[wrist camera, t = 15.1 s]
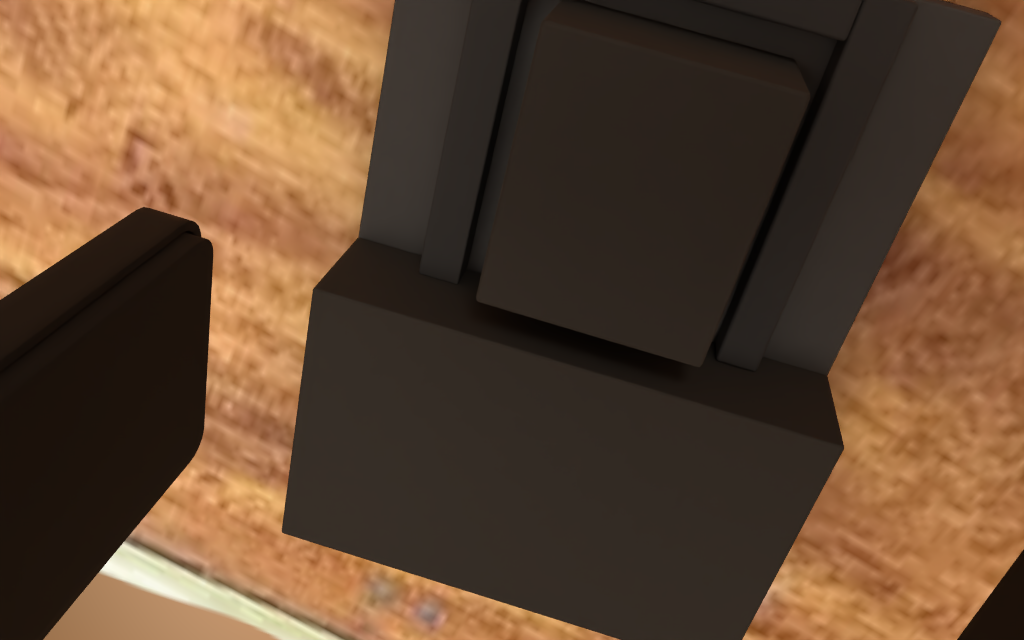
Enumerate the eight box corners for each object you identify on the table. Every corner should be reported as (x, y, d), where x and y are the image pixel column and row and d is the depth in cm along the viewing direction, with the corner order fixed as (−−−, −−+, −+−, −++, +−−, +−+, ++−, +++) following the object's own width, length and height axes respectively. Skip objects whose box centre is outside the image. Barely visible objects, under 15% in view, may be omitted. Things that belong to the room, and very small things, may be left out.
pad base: (428, -139, 19) (367, -136, 15) (988, 13, 18) (1057, 52, 15) (335, 443, 27) (280, 533, 23) (722, 563, 26) (725, 673, 23)
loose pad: (564, -6, 18) (540, 18, 16) (797, 58, 18) (813, 94, 16) (501, 247, 21) (473, 302, 19) (701, 305, 21) (700, 370, 19)
